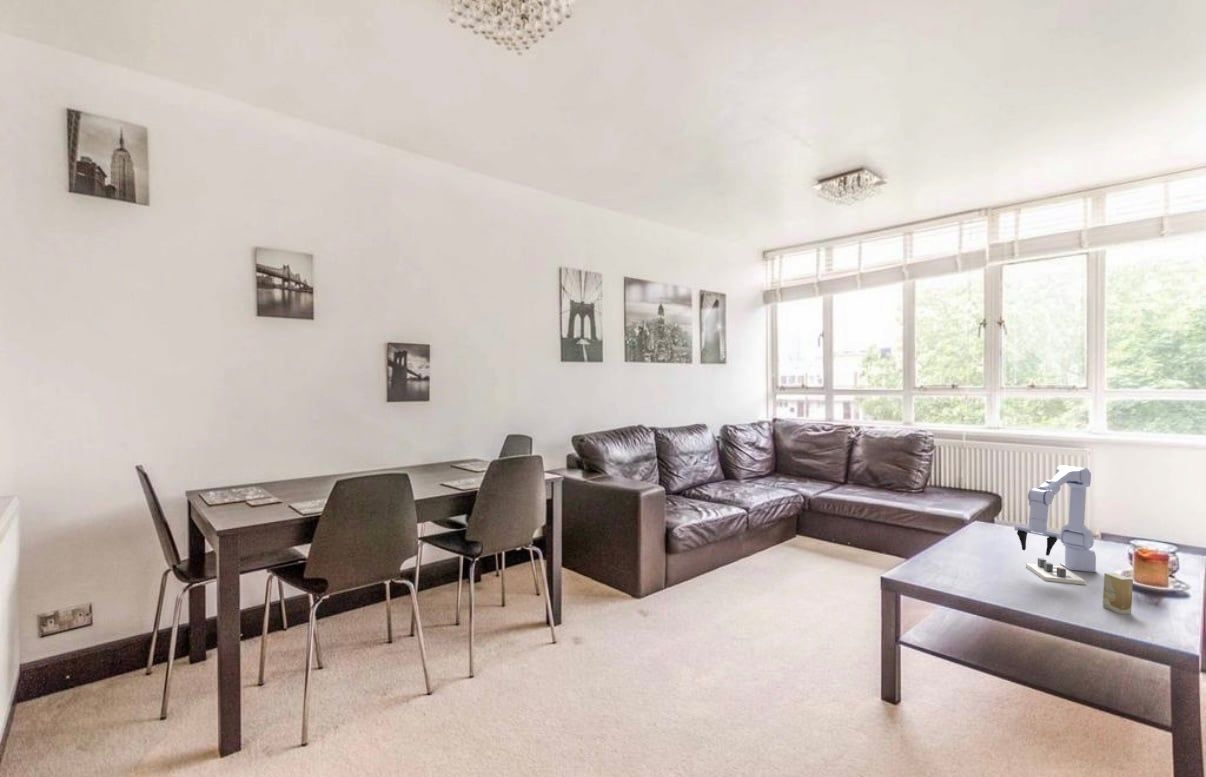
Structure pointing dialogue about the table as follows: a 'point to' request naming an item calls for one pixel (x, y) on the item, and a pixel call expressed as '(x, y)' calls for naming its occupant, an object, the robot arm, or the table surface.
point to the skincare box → (1117, 593)
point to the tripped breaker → (1061, 572)
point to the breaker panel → (1053, 572)
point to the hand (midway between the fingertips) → (1035, 552)
